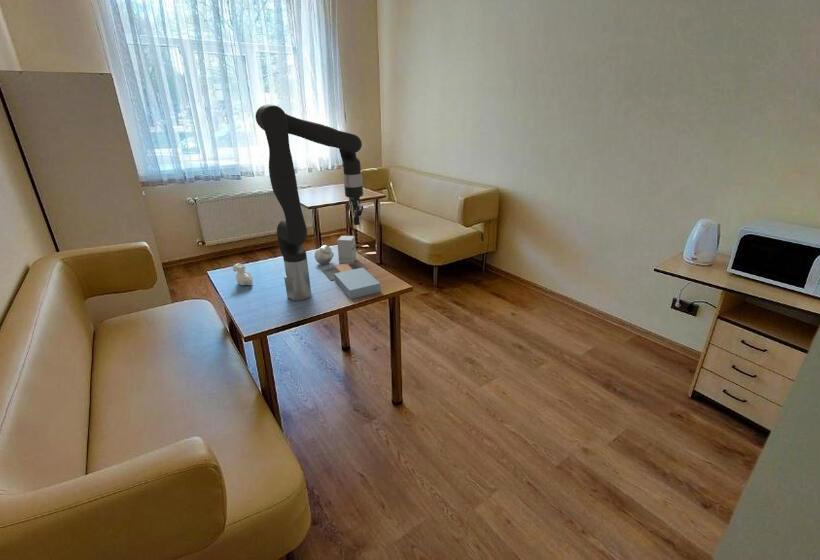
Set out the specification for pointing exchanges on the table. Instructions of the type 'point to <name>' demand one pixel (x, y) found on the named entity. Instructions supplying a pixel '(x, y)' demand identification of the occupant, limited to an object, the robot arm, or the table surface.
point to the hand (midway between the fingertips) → (356, 224)
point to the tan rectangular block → (342, 268)
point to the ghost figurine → (324, 255)
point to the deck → (357, 283)
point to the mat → (331, 271)
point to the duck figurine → (242, 275)
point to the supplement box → (346, 249)
